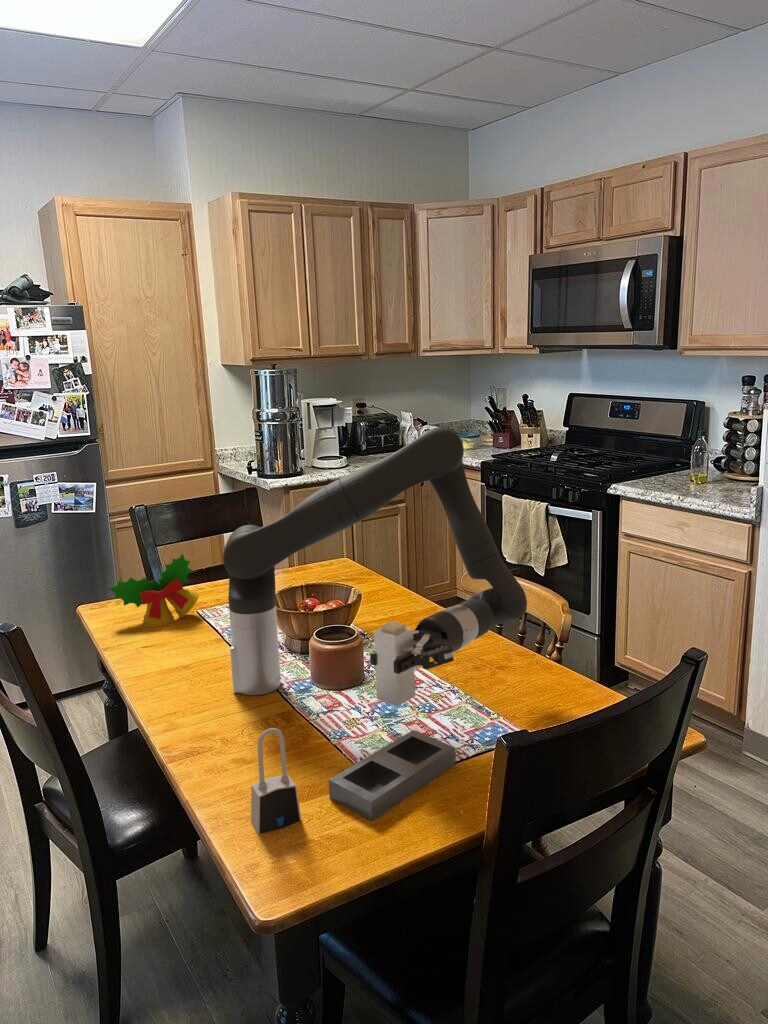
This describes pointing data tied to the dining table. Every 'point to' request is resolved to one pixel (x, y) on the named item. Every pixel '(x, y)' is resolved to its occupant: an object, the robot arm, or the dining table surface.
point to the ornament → (160, 594)
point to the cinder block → (391, 774)
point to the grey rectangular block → (389, 647)
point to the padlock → (273, 794)
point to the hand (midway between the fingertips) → (383, 663)
